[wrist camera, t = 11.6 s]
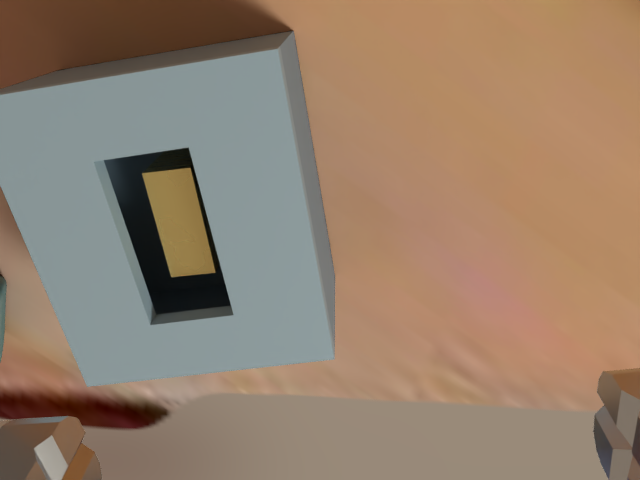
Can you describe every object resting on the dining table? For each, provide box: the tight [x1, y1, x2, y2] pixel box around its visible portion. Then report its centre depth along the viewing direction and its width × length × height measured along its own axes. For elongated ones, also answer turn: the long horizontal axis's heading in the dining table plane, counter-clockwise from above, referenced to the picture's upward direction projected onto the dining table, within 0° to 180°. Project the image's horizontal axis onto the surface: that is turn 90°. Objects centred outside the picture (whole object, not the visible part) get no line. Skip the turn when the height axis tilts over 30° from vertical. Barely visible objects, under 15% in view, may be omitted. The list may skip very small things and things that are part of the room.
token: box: [142, 147, 220, 277], centre depth 31 cm, size 6×2×6 cm, turn 7°
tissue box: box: [0, 31, 335, 387], centre depth 31 cm, size 16×14×9 cm
